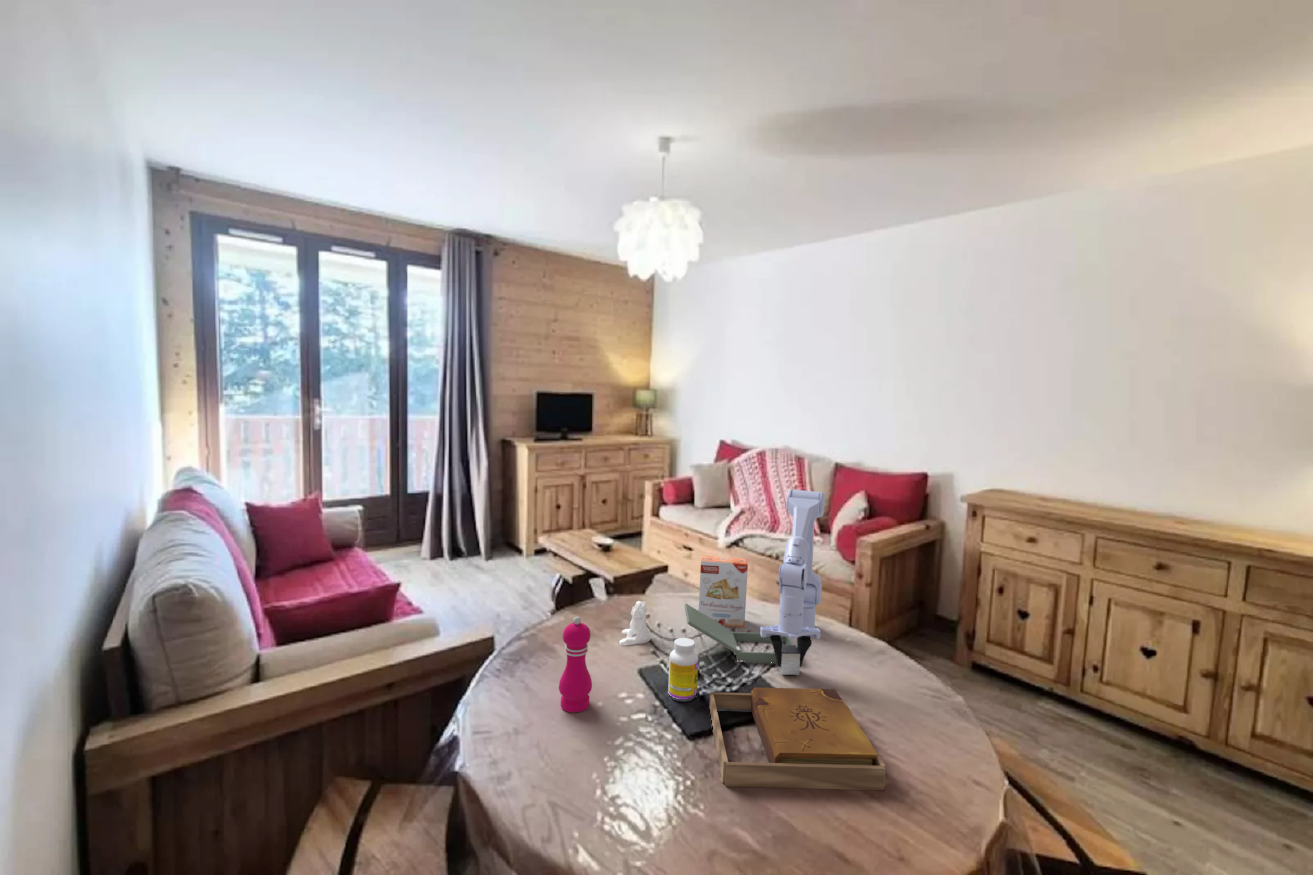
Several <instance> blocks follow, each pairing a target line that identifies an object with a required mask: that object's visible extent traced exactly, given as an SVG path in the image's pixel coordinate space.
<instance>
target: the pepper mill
mask: <svg viewBox="0 0 1313 875" xmlns="http://www.w3.org/2000/svg"><path fill="white" fill-rule="evenodd" d="M591 634H592V633H591V629H590V628H589V626H588V625H587V624H586V623H584V622H582V618H581V617H580V616H575V617H573V620H572V622H571V623H569V624H567V625H566V627H565V628H564V630H563V633H562V640H563V642H564V643H565V645H564V648H565V649H564V653H565V654H566V664H565V668H564V670H563V672H562V675H561V677H560V679H559V682H558V690H559V693H560V694H561V697H560V707H561V709H562V710H563V711H565V712H568V713H580V712H583V711H585V710H587V709H588V708H589V706H590V695H589V694H590V692H592V690H593V682H592V681H593V680H592V677H591V675H590V672H589V669H588V667H587V663H586V662H587V661H586V660H587V659H586V655H587V653H588V652H589V649H588V648H589V645H588V643H589V642H590V639H591V636H592V635H591Z"/></svg>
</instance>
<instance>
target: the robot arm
mask: <svg viewBox="0 0 1313 875" xmlns="http://www.w3.org/2000/svg"><path fill="white" fill-rule="evenodd" d="M825 497H826V495H825V493H824V492H823V491H812V490H799V489H792V488H791V489H789V490H788V491H787V495H786V510H787V511H788V514H789V515H790V516H792V517H793V518H792V519H793V520H792V533H791V534H792V536H791V538H788V539H787V541H786V543H785V550H784V557H783V562H782V563H781V564H780V565H779V569H778V586H779V587H778V594H780V596H779V611H778V612H779V613H778V614H779V615H778V624H776V625H769V626H760V628H759V630H760V632H759V633H760V635H761V637H766V636H769V637H770V639H771V642H770V643H771V645H772V647H773V651H774V652H775V657H776V664H775V665H776V667H777V666H781V650H782V645H784V644H783V643H784V642H782V641H781V638H780V637H790V639H796V643H797V645H796V647H797V648H798V650H799V652H800V668H802V665H803V661H804V659H805V655H806V654H807V652H808V651H809V649H810V647H811V646H812V644H813V643H812V640H811V639H812V638H815V639H818V640H819V639H821V629H820V628H817V627H815V624H816V608H817V606H819V605H820V604H821V602H822V590H823V586H822V578H821V576H820V575H819V574H817V573H816V572H815V571H814V570H813V562H814V561H813V560H814V559H813V558H814V540H815V539H814V538H815V537H814V536H815V534H814V533H815V522H816V520H817V519H818V518H822V517H823V516H824V514H825V503H826V502H825V500H826V499H825Z"/></svg>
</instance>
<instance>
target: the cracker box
mask: <svg viewBox="0 0 1313 875" xmlns="http://www.w3.org/2000/svg"><path fill="white" fill-rule="evenodd" d="M700 557H701V558H700V573H699V591H698V592H699V593H698V594H699V595H698V611H699V612H701V613H703V614H704V615H706V616H708V617H709V618H711V619H713V620H714V621H716V622H718V623H719V624H721V625H723V626H724V627H729V628H730V627H732V628H733V627H734V628H745V624H746V623H745V622H746V608H747V607H746V605H747V604H746V603H747V589H748V587H747V585H748V571H749V570H748V568H749V567H748V566H749V565H748V564H749V563H748V559H747V558H737V557H725V556H724V557H723V556H722V557H721V556H709V555H701V556H700Z"/></svg>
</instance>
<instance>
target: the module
mask: <svg viewBox="0 0 1313 875" xmlns="http://www.w3.org/2000/svg"><path fill="white" fill-rule="evenodd" d="M776 668H777V669H778V672H779V673H780V675H791V676H792V675H793V676H796V675H797V676H799V675H800V668H801V667H800V652H799V650H798V648H797V645H795V644H794V645H786V644H782V650H781V666H777V665H776Z"/></svg>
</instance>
